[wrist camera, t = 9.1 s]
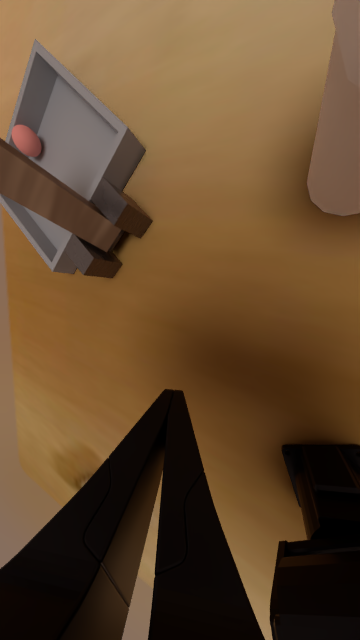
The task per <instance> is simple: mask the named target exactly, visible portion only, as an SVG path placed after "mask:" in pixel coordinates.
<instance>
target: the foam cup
mask: <svg viewBox="0 0 360 640" xmlns="http://www.w3.org/2000/svg"><path fill="white" fill-rule="evenodd" d="M332 16H333V20H334V24H335V28H336V30H335V36H334V41H333V46H332V51H331V57H330V62H329V67H328V72H327V78H326V83H325V88H324V94H323V99H322V104H321V109H320V115H319V120H318V125H317V130H316V136H315V141H314V146H313V151H312V157H311V162H310V167H309V172H308V178H307V187H308V191H309V195H310V199H311V201H312V202H313V203H314V204H315V205H317V206H318V207H319V208H320V209H321V210H322V211H323V212H326V213H331V214H335V215H340V216H347V215H353V214H358V213H360V0H335V1H334V6H333V10H332Z"/></svg>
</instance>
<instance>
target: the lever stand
mask: <svg viewBox="0 0 360 640" xmlns="http://www.w3.org/2000/svg"><path fill="white" fill-rule="evenodd" d="M91 200H92V202H93V203H94V204H95V205H96V206H97V207H98V208H99V209H100V211H101V212H102V213H103V214H104V215H105V216H106V217H107V219H108V220H109V221H110V222H111V223H112V224H113V225H114V226H116V227H118V228H120V229H122V230H124V231H126V232H128V233H130V234H133V235H135V236H137V237H139V238H141V237H142V235H143V234H144V233H145V231H146V230H147V228H148V227H149V226H150V224H151V223H152V220H151V219H150V218H149V216H148V215H147V214H146V213H145V212H144V211H143V210H142V209H141V208H140V207H139V206H138V205H137V204H136V203H135V202H134V201H133V200H132V198H130V197H129V196H128V195H126V194H125V193H124V192H122V191H121V190H120V189H118V188H117V187H116V186H114V185H113V184H112V183H110V182H109V181H108V180H106V179H105V178H104V177H102V178H101V180H100V182H99V184H98V186H97V187H96V189H95V191H94V193H93V195H92V197H91ZM64 251H65V253H66V254H67V255H68V256H69V258H70V259H71V260H72V261H73V263H74V264H75V265H76V266H77V268H78V269H79V270H80V271H81V273H82V274H83V275H87V276H97V277H106V278H113V277H114V275H115V274H116V272H117V271H118V270H119V268H120V267H121V265H122V263H121V262H120V261H119V260H118V259H117V257H116V256H115V255H114V254H113V253H112V251H111V252H109V251H107V252H105V251H104V250H102V249H100V248H98V247H96V246H95V245H93V244H91V243H89V242H87V241H85V240H84V239H82V238H80V237H78V236H76V235H75V234H73V233H72V235H71V237H70V239H69V241H68V243H67V245H66V247H65V249H64Z"/></svg>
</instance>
